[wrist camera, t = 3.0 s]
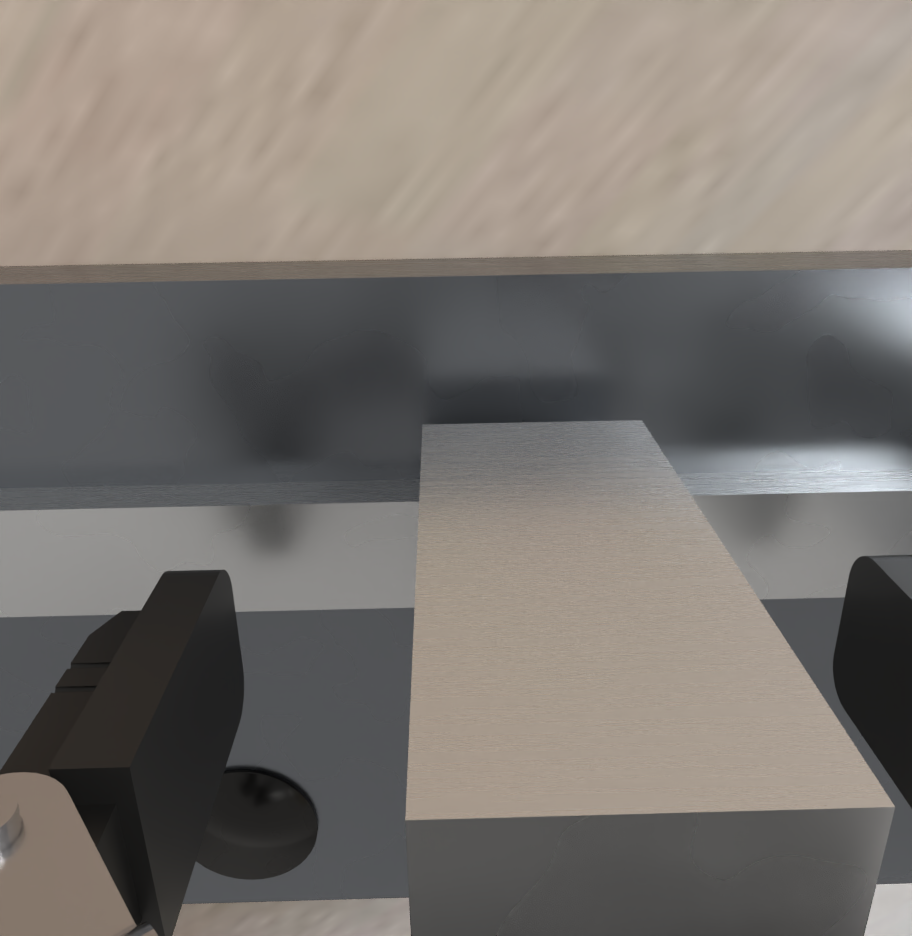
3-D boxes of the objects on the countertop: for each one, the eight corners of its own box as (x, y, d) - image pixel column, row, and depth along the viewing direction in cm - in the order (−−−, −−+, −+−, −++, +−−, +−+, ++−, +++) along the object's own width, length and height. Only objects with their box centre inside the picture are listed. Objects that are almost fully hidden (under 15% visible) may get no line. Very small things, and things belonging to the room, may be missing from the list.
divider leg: (641, 419, 12) (894, 807, 5) (607, 870, 15) (737, 1449, 8) (423, 424, 12) (404, 820, 5) (436, 875, 15) (437, 1462, 8)
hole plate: (1273, 243, 14) (1428, 269, 11) (1070, 818, 18) (1154, 912, 16) (-128, 269, 13) (-235, 300, 11) (33, 847, 18) (-21, 946, 16)
